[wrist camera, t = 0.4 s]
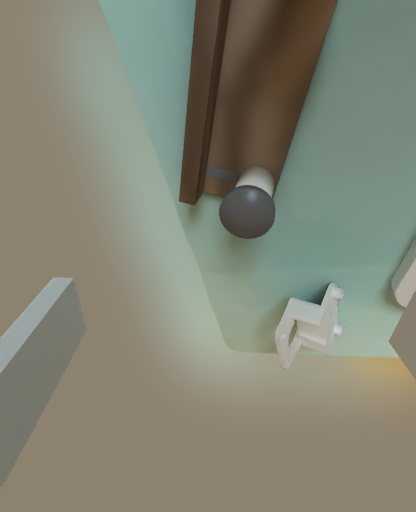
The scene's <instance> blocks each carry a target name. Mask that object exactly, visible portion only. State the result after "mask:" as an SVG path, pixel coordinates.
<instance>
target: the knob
mask: <svg viewBox="0 0 416 512" xmlns="http://www.w3.org/2000/svg"><path fill="white" fill-rule="evenodd" d="M273 189H274V179H273V176H272V175H271V173H270V172H269V171H268V170H267V169H265V168H263V167H258V166H254V167H250V168H248V169H246V170H244V171H243V172H242V174H241V175H240V177H239V179H238V182H237V184H236V186H235V188H233V189H232V190H230V191H229V192H228V193H227V194H226V195H225V197H224V199H223V201H222V203H221V205H220V210H219V216H220V220H221V222H222V224H223V226H224V227H225V228H226V229H227V230H228V231H229V232H230V233H231V234H233V235H235V236H237V237H240V238H246V239H251V238H257V237H260V236H262V235H264V234H265V233H266V232H267V231H269V229H270V228H271V227H272V225H273V222H274V218H275V204H274V201H273V200H272V195H273Z"/></svg>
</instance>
